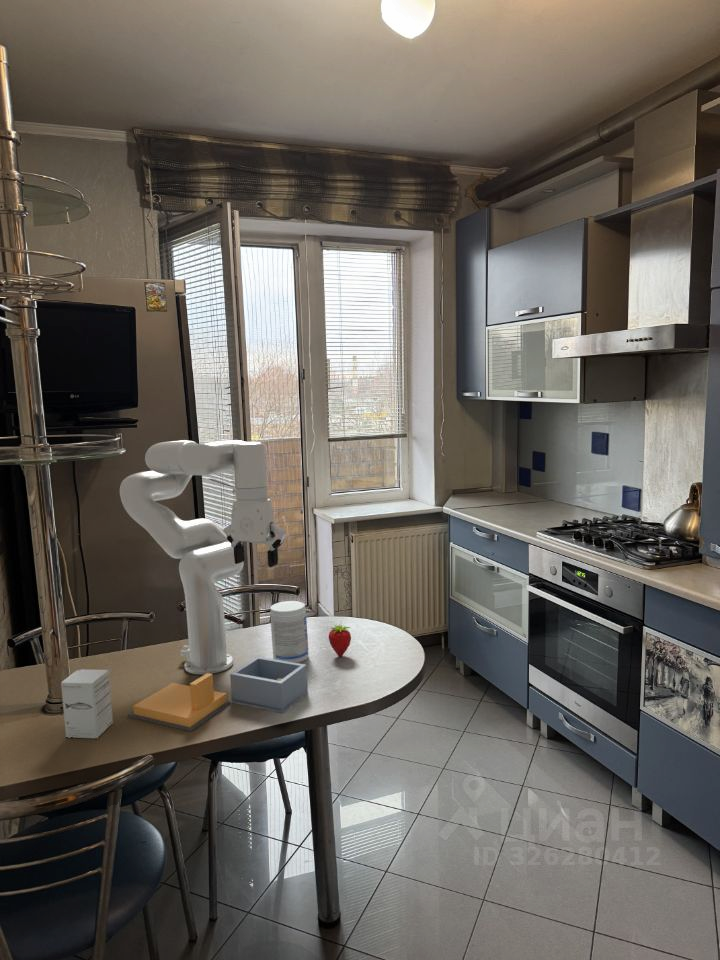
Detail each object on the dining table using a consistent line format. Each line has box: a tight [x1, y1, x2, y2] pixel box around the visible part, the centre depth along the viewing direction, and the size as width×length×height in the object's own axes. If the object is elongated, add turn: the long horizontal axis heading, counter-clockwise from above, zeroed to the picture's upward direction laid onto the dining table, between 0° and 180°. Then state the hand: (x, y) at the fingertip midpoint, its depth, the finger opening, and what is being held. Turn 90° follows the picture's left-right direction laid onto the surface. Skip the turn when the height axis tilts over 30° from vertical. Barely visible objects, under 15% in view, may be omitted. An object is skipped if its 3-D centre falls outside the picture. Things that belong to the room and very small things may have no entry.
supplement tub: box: [269, 600, 310, 664], centre depth 182 cm, size 10×10×15 cm
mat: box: [127, 699, 232, 732], centre depth 156 cm, size 18×14×1 cm
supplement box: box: [60, 669, 114, 740], centre depth 147 cm, size 7×7×13 cm
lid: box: [132, 673, 228, 727], centre depth 155 cm, size 16×13×8 cm
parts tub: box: [229, 656, 309, 714], centre depth 160 cm, size 14×11×7 cm
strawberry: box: [328, 620, 352, 658], centre depth 183 cm, size 6×8×10 cm
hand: (256, 564), depth 164 cm, fingers open, 9 cm apart
